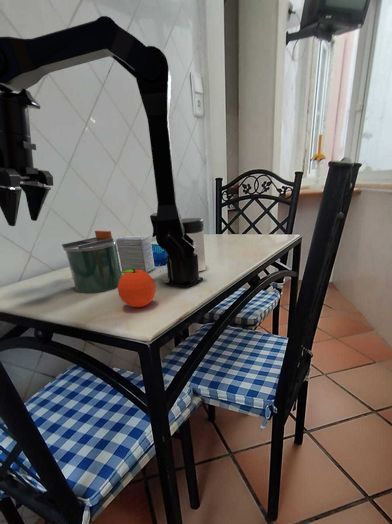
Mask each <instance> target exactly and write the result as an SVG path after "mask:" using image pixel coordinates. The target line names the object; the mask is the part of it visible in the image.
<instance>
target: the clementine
mask: <svg viewBox="0 0 392 524" xmlns="http://www.w3.org/2000/svg"><path fill="white" fill-rule="evenodd" d="M118 275H119V274H118ZM118 275H117V276H118ZM121 275H122V276H121V278H120V280H119V283H118V287H117V293H118V296H119V298H120V299H121V300H122V302H123V303H125V304H126V305H127V306H129V307H132V308H141V307H146V306H147V305H149V304H150V303H151V302H152V300H153V299H154V297H155V296H156V283H155V281H154V279H153V277H152V276H151V275H150V274H149V272H147V273H146V272H144V271H142V270H135V269H133V270H126V271H123V272H122V271H121ZM117 276H116V277H117ZM115 280H116V278H115ZM114 283H115V282H114Z"/></svg>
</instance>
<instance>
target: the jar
mask: <svg viewBox="0 0 392 524" xmlns="http://www.w3.org/2000/svg"><path fill="white" fill-rule="evenodd" d="M181 219H182V222H183V226H184V231H185V233H186V234H187V235H188V236H189V237H190V238H192V239H193V240H194V241H195V248H194V253H195V254H197V255H198V270H199V272H203V271H206V270H207V269H206V254H205V252H206V251H205V233H204V232H205V231H204V219H203V218H201V217H186V218H181Z"/></svg>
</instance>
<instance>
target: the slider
mask: <svg viewBox="0 0 392 524" xmlns="http://www.w3.org/2000/svg"><path fill="white" fill-rule="evenodd" d="M94 234H95V237H96V238H95V239H91V240H86V241H82V242H81V243H83V244H87V243H92V242H96V241H101V240H105V239H109V238H113V236H112V231H111V230H94Z"/></svg>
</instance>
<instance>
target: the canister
mask: <svg viewBox="0 0 392 524" xmlns="http://www.w3.org/2000/svg"><path fill="white" fill-rule="evenodd" d="M95 238H96V236H95V237H94V236H93V237H89V238H85V239H80V240H75V241H71V242H66V243H62V244H61V247H62V249H63V251H64V252H65V254H66V259H67V262H68V265H69V270H70V273H71V277H72V281H73V285H74V289H75V290H76V291H77V292H79V293H84V294H85V293H87V294H92V293H100V292H102V293H103V292H107V291H110V290H114V289H117V288H118V283H119V280H120V278H121V276H122V275H123V274H122V273H121V272H122V268H121V263H120V258H119V252H118V247H117V241H116V239H114V238H113V237H112V238H109V239H105V240H101V241H96V242H92V243H87V244H83V243H81V242H82V241H86V240H91V239H95ZM118 274H119V275H118ZM117 275H118V276H117ZM116 276H117V277H116ZM115 278H116V280H115ZM114 282H115V283H114Z"/></svg>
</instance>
